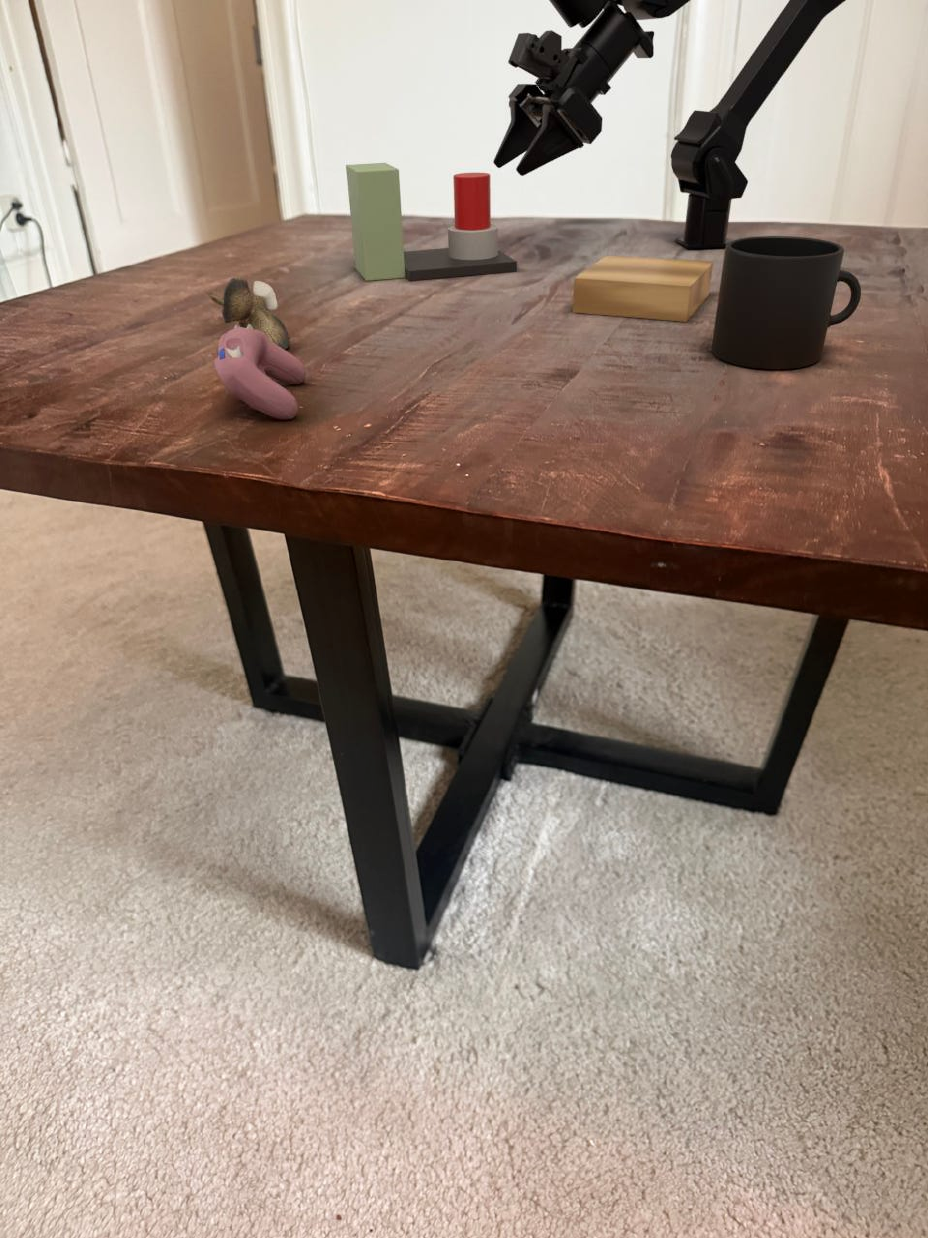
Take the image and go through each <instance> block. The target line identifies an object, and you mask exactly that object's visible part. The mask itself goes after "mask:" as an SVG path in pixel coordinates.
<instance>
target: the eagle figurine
mask: <svg viewBox="0 0 928 1238" xmlns="http://www.w3.org/2000/svg"><path fill="white" fill-rule="evenodd" d="M205 293H206V295H207V296H208V297H209V298H210V299H211V300H212V301H213V302H214V303H216V304H218V305H219V306H222V307H221V314H222V318H223V321H224V323H225V324H229V323H233V322H235V323H234V327H233V329H234V328H237V327H244V328H247V326H248V325H249V324H250V325H252V327H253V329H254V330H259V331H260V332H262V333H263V334H264V335H265V336H266V337H267V338H268V339H269V340H271V341H272V342H273V343H275V344H276V345H277V346H279V347H281V348H282V349H284V350H286V349H288V348H289V346H290V343H291V338H290V336H289V331H288V329H287V327H286V325H285V324H284V322H283V321H282V320H281V319H280V318H278V317H277V316H275V315H274V314H273V313H271V312H270V311H276V310H277V309H278V301H277V295H276V293H275V291H274V289H273V287H271V286H270V285H269V284H268V283H266V282H263V281H260V280H254V281H253V285H252V293H251V289H250V286H249V283H248V279H246V278H245V279H242V278H241V279H239V278H235V277H231V278H230V280H228V282H227V284H226V285H225V287H224V289H223V295H222V298H221V297H219V296H218V295H216V294H214V293H213V292H212V291H211V290H210V289H207V288H206V289H205ZM252 294H253V295H252Z"/></svg>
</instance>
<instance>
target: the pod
mask: <svg viewBox="0 0 928 1238" xmlns="http://www.w3.org/2000/svg"><path fill="white" fill-rule="evenodd" d="M452 176H453V177H452V179H453V206H454V207H453V208H454V213H453V214H454V225H455V228H456V229H459V230H484V229H488V228H490V227H491V224H492V207H491V206H492V205H491V204H492V201H491V200H492V199H491V196H492V194H491V190H492V189H491V174H490V173H487V172H462V173H455V174H454V175H452Z"/></svg>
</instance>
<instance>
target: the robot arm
mask: <svg viewBox="0 0 928 1238" xmlns="http://www.w3.org/2000/svg"><path fill="white" fill-rule="evenodd" d="M548 1H549V2H550V4H551V5H552V6H553V8H554V9H555V10H556V12H557V13H558V14H559V16H560V17H561V19H562V20H563V22H565V24H566V25H567V27H568V28H569V29H571V28H574V27H576V26H578V25H579V27H580V28H581V29H584V28H586V27H588V26H589V25H590V24H591V25H590V26H589V27H588V29H587V30H586V31H585V32H584V33H583V34H582V36H581V37H580V39H579V40H578V41H577V42H576V44H575V45H574V46H573V47H571V48H570V47H569V48H563V49H562V45H563V43H562V42H563V37H562V35H561V34H559V33H557V32H556V31H554V30H551V29H550V30H545V31H544V32H543V33H542V34H541V35H540V36H538V35H537V34H535V33H533V34H532V33H530V32H520V33H518V34H517V37H516V40H515V42H514V45H513V48H512V50H511V53H510V56H509V58H508V61H507V63H508V64H509V65H510V66H511V67H514V69H515V68H519V69H521V70H523V71H524V72H526V73H528V74H530V75H532V76H534V77H535V78H537V79H536V80H535V82H534V83H535V84H534V83H518V84H517V85H516V86H515V87H514V88H513V89H512V90H511V92H510V93H509V95H508V97H507V98H508V99H509V101H508V107H509V109H510V123H509V124H508V128H507V130H506V132H505V134H504V136H503V139H502V141H501V143H500V145H499V147H498V150H497V152H496V154H495V156H494V158H493V161H492V163H493V164H494V166H495V167H496V168H497V169H500V168H502V167H504V166H505V165H507V164H509V163H511V162H512V161H514V160H515V159H516V158H518V157H519V156H521V155H523V156H522V157H521V159H520V161H519V162H518V165H517V166H516V168H515V170H516V173H518V175H519V176H520V177H524V176H526V175H528V174H529V173H532V172H533V171H535V170H537V169H539V168H541V167H543V166H545V165H546V164H547V165H548V164H549V163H551V162H553V161H555V160H557V159H559V158H562V157H563V156H565V155H567V154H569V153H571V152H573V151H576V150H578V149H582V148H583V147H584V146H585V144H588V145H592V144H593V142H594V141H595V140H596V139H597V137H598V136H599V135H600V134H601V132H603V116H602V115H601V114H600V112H599V111H598V110H597V109H596V107H595V106H594V105H593V102H594V101H595V100H596V98H598V96H601V95H603V96H606V95H607V93H608V92H609V91H610V90H611V88H612V87H611V85H610V84H609V83H610V82H611V80H612V79H614V78H613V77H614V76H615V75H616V74H617V73H618V72H619V70H620V69H621V68H622V67H623V66H624V64H625V63H626V62H627V61H628V60H629V58H630V57H631V56H632V54H634V55H635V57H636V58H637V59H652V58H653V57H654V54H655V52H654V51H655V50H654V49H655V48H654V38H655V31H654V30H647V31H645V30H644V28H643V27H642V26H641V25H640V23H639V22H638V21H647V20H658V19H659V20H660V19H664V18H668V17H670V16H672V15H673V14H675V13H676V12H678V11H679V10H680V9H681V8H682V7H684V6H685V5H686V4H688V3H689V2H690V1H691V0H548ZM846 1H847V0H788V1H787V3H786V5H785V6H784V8H783V9H782V10H781V12H780V13H779V15H778V16H777V18H776V19H775V20H774V22H773V23H772V25H771V26H770V27H769V29H768V31H767V32H766V34H765V35H764V37H763V38H762V39H761V41H760V42H759V44H758V46H757V47H756V48H755V50H754V51H753V52H752V54H751V55H750V57H749V58H748V60H747V61H746V63H745V64H744V65H743V67H742V69H741V70H740V71H739V73H738V74H737V76H736V77H735V79H734V80H733V81H732V83H731V84H730V86H729V87H728V89H727V90H726V92H725V93H724V95H723V96H722V97H721V99H720V101H719V102H718V103H717V104H716V105H715V106H714V107H713V108H712V109H711V110H709V111H706V110H705V111H704V110H696V109H695V110H693V112H692V113H691V114H690V116H689V118H688V120H687V121H686V124H685V125H684V127H683V128H682V130H681V131H680V132H679V133H678V134H676V135H675V136H674V137H673V140H674V141H676V143H675V144H674V146H673V148H672V150H671V153H670V167H671V170H672V173H673V174H674V176H675V177H676V178H677V181H678V187H679V192H680V193H683V194H688V197H687V207H686V215H685V222H684V223H685V224H684V232H683V233H684V234H683V236H675V240H674V241H675V242H677V243H679V244H680V245H682V246H684V247H685V248H687V249H690V250H691V249H693V250H694V249H709V248H710V249H711V248H725V247H726V245H727V243H729V242H731V241H732V240H730V239H728V238H727V234H728V227H729V220H730V213H731V207H732V206H731V205H732V200H735V199H742V198H743V196H744V194H745V191H746V188H747V186H748V184H749V180H748V179H747V177H746V176H745V174H744V173H743V171H742V170H741V169H740V167H739V165H738V164H737V162H736V161H737V160H738V158H739V157H740V154H741V152H742V150H743V145H744V141H745V137H746V133H747V128H748V127H749V124H750V123H751V121H752V120H753V118H754V117H755V116H756V115H757V113H758V111H759V110H760V109H761V107H762V105H763V104H764V103H765V102H766V100H767V98H769V96H770V94H771V93H772V91H773V90H774V89H775V87H776V86H777V84H778V83H779V82H780V80H781V79H782V77H783V76H784V75H785V73H786V72H787V70H788V69H789V67H790V66H791V65H792V63H793V62H794V61H795V59H796V57H797V56H798V55H799V53H800V52H801V51H802V49H803V47H805V45H806V43H807V42H808V41H809V39H810V38H811V36H812V35H813V33H814V32H815V31H816V29H817V28H818V26H819V25H820V24H821V22H822V21H823V20H824V19H825V17H826V16H828V15H830V13H832V12H833V11H834V10H836V9H837V8H838V7H839V6H840V5H842V4H843V3H845V2H846ZM621 7H622V8H623V10H624V11H625V12H624V11H623V10H622V9H621Z"/></svg>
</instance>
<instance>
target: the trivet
mask: <svg viewBox="0 0 928 1238" xmlns="http://www.w3.org/2000/svg"><path fill="white" fill-rule="evenodd" d="M713 267H714V261H712V260H711V261H709V260H693V259H692V260H691V259H677V258H676V259H674V258H673V259H672V258H659V257H658V258H657V257H640V256H623V255H608V254H607V255H605V256H604V257H602V258H601V259H599V260H598V261H597V262H595V263H594V264H592V265H591V266H589V267H588V268H586V269H585V270H584V271H582V272H581V273H579V274H578V275H577V276H575V277H574V281H573V300H572V301H573V303H572V313H573V314H583V315H584V314H585V315H597V316H609V317H620V318H631V319H646V320H656V321H657V320H658V321H667V322H668V321H670V322H679V323H680V322H681V323H683V322H684V323H688V321H689V320H690V319H691V317H692V316H693V315H694V314H695V312H696V311H697V310H698V309H699V308H700V306H701V305H702V304H703V303H704V301H705V300H706V299H707V298H708V297H709V295H710V290H711V282H712V273H713Z"/></svg>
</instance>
